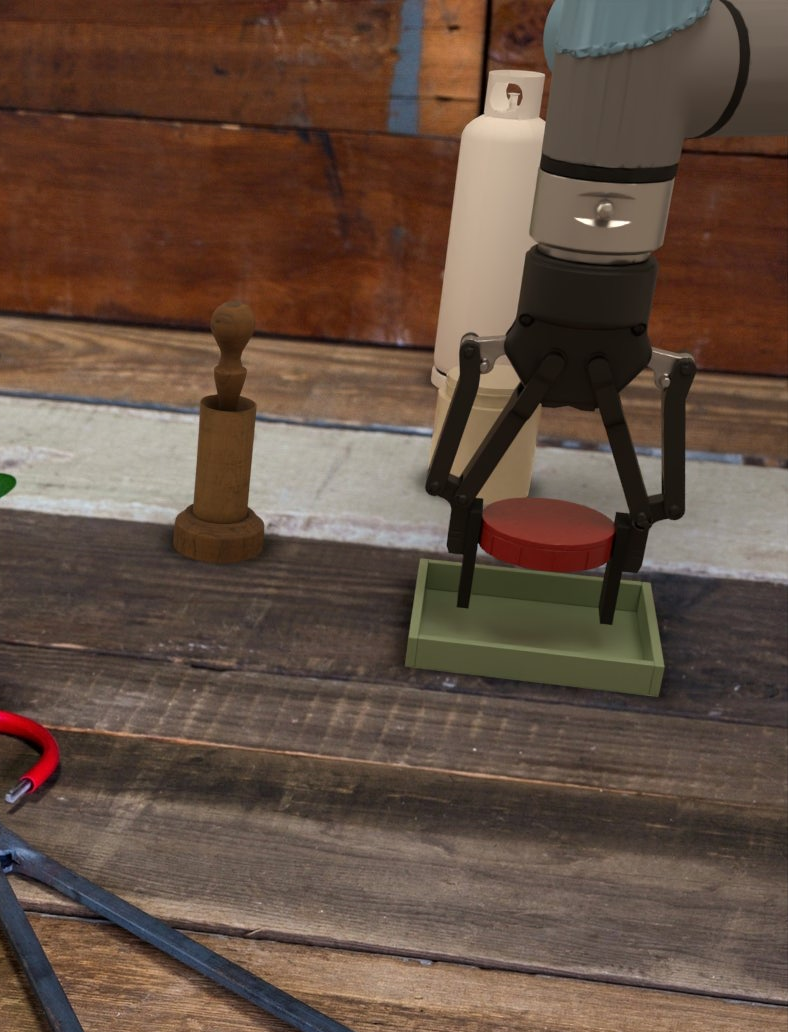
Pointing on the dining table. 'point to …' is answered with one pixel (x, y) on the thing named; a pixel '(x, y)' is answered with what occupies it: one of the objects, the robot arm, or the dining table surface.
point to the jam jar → (488, 405)
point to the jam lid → (546, 534)
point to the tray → (535, 629)
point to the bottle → (490, 217)
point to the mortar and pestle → (224, 455)
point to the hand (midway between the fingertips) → (533, 607)
